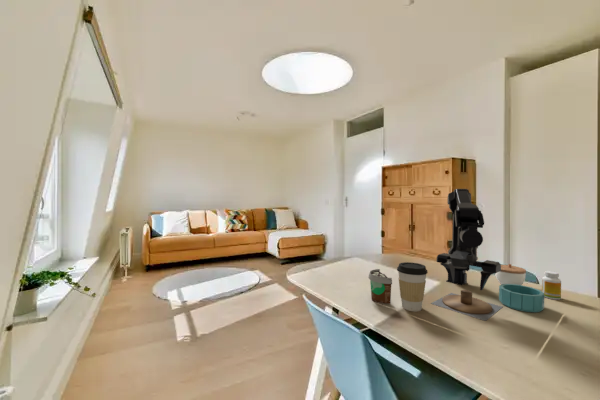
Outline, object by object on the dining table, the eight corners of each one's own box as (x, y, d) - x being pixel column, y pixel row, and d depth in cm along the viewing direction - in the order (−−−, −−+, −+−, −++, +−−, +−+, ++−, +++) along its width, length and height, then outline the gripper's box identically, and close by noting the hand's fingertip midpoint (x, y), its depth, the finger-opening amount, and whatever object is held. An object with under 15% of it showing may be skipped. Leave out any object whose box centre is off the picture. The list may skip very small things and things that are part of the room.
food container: (363, 294, 107) (364, 269, 107) (378, 293, 107) (379, 268, 107) (375, 307, 95) (375, 278, 94) (392, 306, 95) (392, 278, 95)
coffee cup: (425, 304, 96) (426, 263, 96) (429, 316, 87) (429, 270, 87) (396, 301, 100) (396, 260, 99) (396, 312, 90) (397, 267, 90)
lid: (434, 303, 97) (435, 290, 96) (452, 294, 106) (452, 281, 106) (483, 318, 85) (483, 303, 85) (498, 306, 94) (498, 292, 94)
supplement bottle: (564, 300, 101) (565, 274, 100) (548, 299, 102) (548, 273, 101) (554, 295, 106) (554, 270, 106) (538, 294, 107) (538, 270, 107)
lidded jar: (514, 282, 122) (514, 261, 122) (532, 290, 111) (532, 267, 111) (489, 281, 123) (489, 260, 123) (504, 289, 112) (504, 267, 112)
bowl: (494, 305, 96) (495, 288, 96) (505, 297, 104) (505, 281, 104) (539, 317, 87) (539, 298, 87) (546, 307, 94) (547, 290, 94)
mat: (430, 304, 97) (430, 303, 97) (451, 293, 107) (451, 292, 107) (485, 322, 83) (485, 320, 83) (502, 307, 94) (502, 306, 94)
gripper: (429, 241, 97) (429, 284, 98) (490, 249, 83) (489, 300, 83) (443, 238, 104) (443, 278, 105) (501, 245, 90) (501, 292, 90)
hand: (466, 286), depth 95 cm, fingers open, 9 cm apart
